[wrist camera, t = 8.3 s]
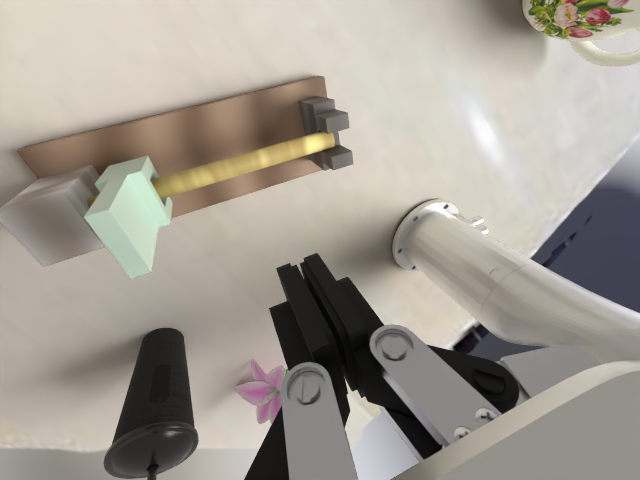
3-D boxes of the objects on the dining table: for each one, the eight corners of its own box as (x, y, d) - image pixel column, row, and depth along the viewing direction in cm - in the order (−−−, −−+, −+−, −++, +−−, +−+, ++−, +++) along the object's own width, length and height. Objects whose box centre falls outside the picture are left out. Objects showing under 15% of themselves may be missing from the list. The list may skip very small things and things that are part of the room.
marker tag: (147, 155, 23) (127, 203, 15) (172, 202, 26) (166, 266, 18) (108, 166, 23) (64, 222, 15) (137, 213, 25) (114, 285, 17)
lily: (283, 329, 46) (265, 379, 38) (328, 374, 49) (321, 430, 41) (234, 357, 51) (208, 409, 42) (278, 397, 54) (262, 453, 45)
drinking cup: (113, 343, 35) (52, 575, 19) (168, 309, 35) (154, 506, 20) (158, 370, 40) (139, 575, 24) (206, 339, 40) (220, 519, 24)
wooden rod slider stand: (318, 76, 29) (358, 79, 22) (331, 161, 34) (367, 185, 27) (25, 146, 23) (-41, 179, 16) (93, 236, 28) (64, 290, 22)
